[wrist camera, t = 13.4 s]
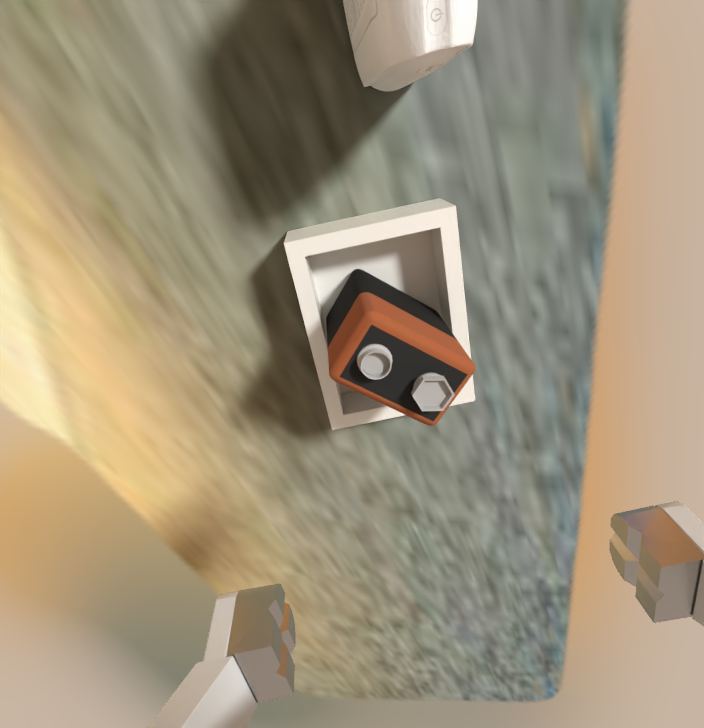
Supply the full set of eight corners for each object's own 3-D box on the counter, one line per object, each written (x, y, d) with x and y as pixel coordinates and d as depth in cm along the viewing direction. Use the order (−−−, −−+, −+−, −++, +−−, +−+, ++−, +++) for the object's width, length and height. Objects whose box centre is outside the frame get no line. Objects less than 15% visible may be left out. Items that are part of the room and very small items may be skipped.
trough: (287, 231, 31) (283, 243, 27) (439, 198, 31) (455, 205, 27) (330, 401, 36) (332, 430, 33) (459, 374, 36) (475, 400, 33)
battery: (406, 361, 34) (438, 441, 25) (323, 319, 33) (325, 388, 24) (440, 311, 33) (487, 376, 24) (354, 263, 31) (370, 314, 22)
